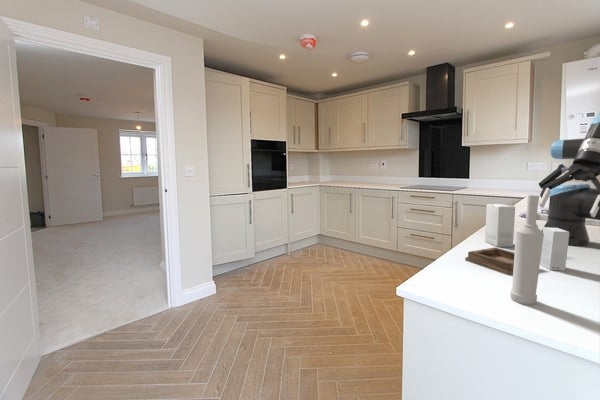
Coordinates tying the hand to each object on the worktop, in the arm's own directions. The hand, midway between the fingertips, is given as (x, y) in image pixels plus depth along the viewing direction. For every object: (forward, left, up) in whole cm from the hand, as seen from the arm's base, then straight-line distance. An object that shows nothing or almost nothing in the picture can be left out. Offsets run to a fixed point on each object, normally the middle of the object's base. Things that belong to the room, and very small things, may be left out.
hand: (565, 210), depth 101 cm
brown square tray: (+23, -5, -17) cm, 29 cm away
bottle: (+43, +14, -17) cm, 48 cm away
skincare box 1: (+1, -21, -17) cm, 27 cm away
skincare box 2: (+11, +3, -17) cm, 20 cm away
